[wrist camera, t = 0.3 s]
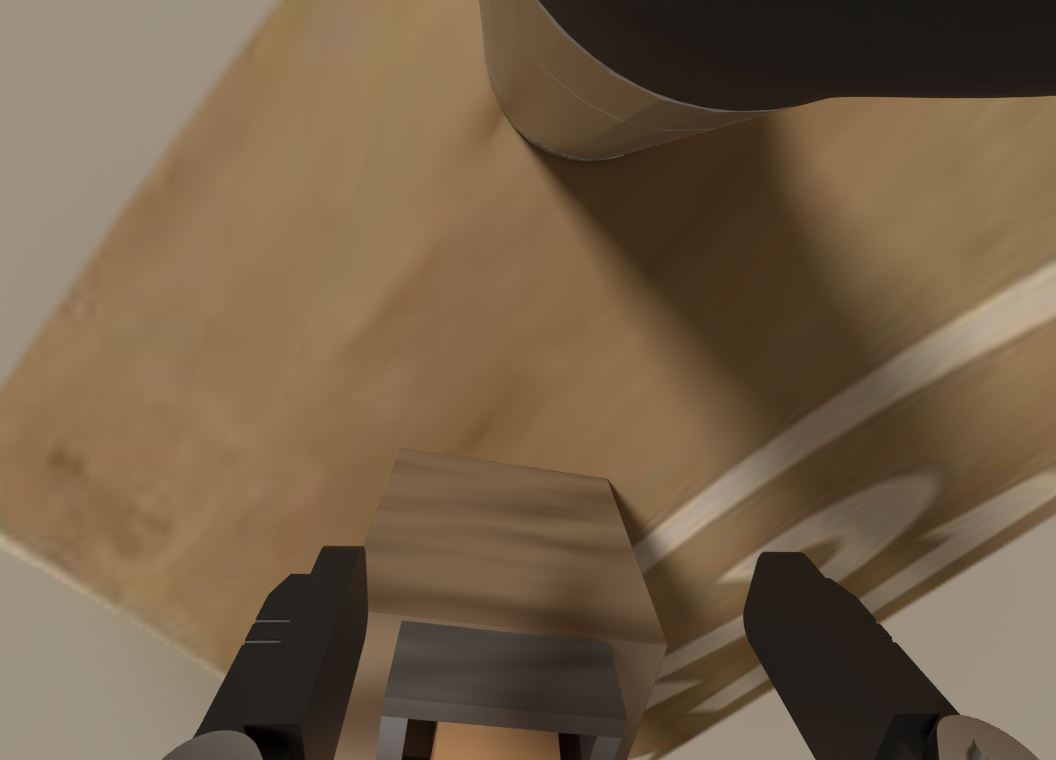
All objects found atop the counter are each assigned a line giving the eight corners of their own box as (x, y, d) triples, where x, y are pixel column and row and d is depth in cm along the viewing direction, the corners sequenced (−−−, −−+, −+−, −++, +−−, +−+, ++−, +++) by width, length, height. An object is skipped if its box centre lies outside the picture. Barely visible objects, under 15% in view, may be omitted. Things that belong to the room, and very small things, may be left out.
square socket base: (400, 448, 30) (309, 684, 16) (607, 479, 31) (695, 722, 17) (386, 564, 32) (296, 857, 18) (577, 588, 34) (632, 877, 19)
